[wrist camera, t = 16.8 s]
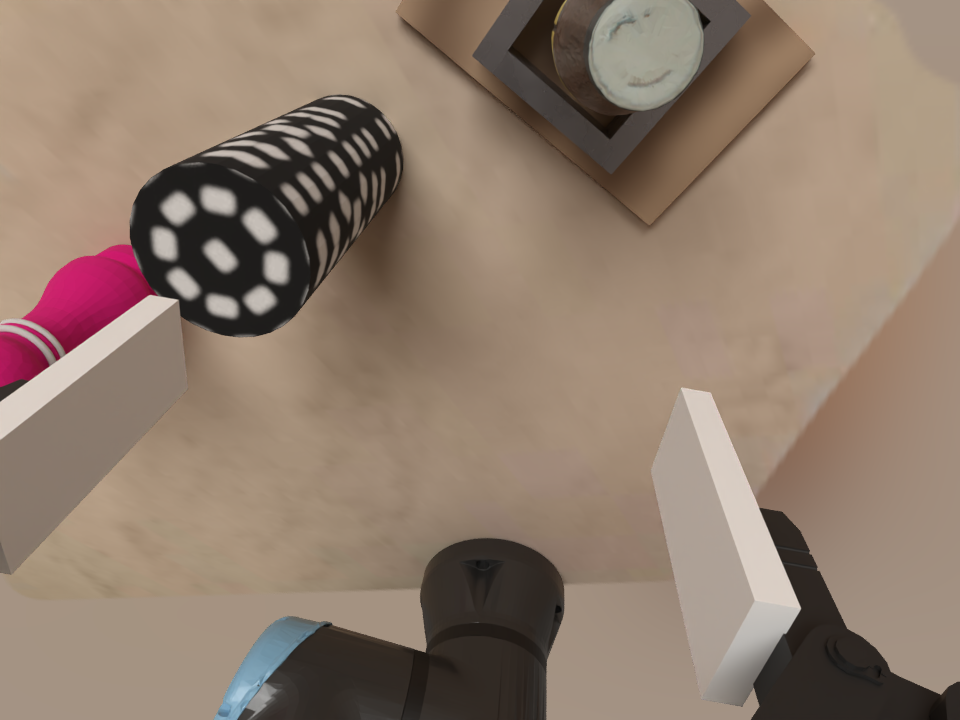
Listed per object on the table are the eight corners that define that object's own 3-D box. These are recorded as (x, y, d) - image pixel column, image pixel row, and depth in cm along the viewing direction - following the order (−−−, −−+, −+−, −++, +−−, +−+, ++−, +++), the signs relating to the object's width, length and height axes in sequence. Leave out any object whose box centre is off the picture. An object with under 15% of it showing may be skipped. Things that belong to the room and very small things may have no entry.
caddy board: (809, 52, 39) (815, 53, 38) (647, 221, 45) (649, 226, 45) (538, -224, 34) (538, -229, 33) (398, 11, 40) (395, 11, 39)
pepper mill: (186, 321, 54) (14, 474, 37) (106, 314, 54) (-99, 463, 37) (167, 240, 50) (-33, 370, 33) (82, 235, 51) (-159, 359, 34)
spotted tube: (267, 139, 45) (92, 229, 28) (352, 68, 42) (215, 121, 25) (341, 232, 48) (224, 364, 31) (426, 173, 45) (347, 283, 28)
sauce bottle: (632, 100, 41) (690, 177, 23) (539, 74, 40) (529, 133, 23) (670, -12, 37) (770, -17, 20) (570, -40, 37) (584, -70, 20)
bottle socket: (733, 13, 38) (751, 15, 34) (606, 160, 43) (611, 174, 39) (596, -123, 35) (601, -136, 32) (478, 50, 40) (471, 55, 37)
